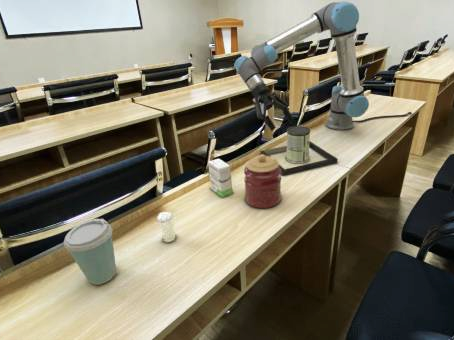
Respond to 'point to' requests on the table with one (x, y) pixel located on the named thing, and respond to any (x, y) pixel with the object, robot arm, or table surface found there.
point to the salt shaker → (166, 226)
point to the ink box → (220, 177)
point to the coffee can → (298, 144)
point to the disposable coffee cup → (93, 250)
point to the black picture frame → (296, 169)
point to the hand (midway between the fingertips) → (283, 125)
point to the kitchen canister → (262, 182)
